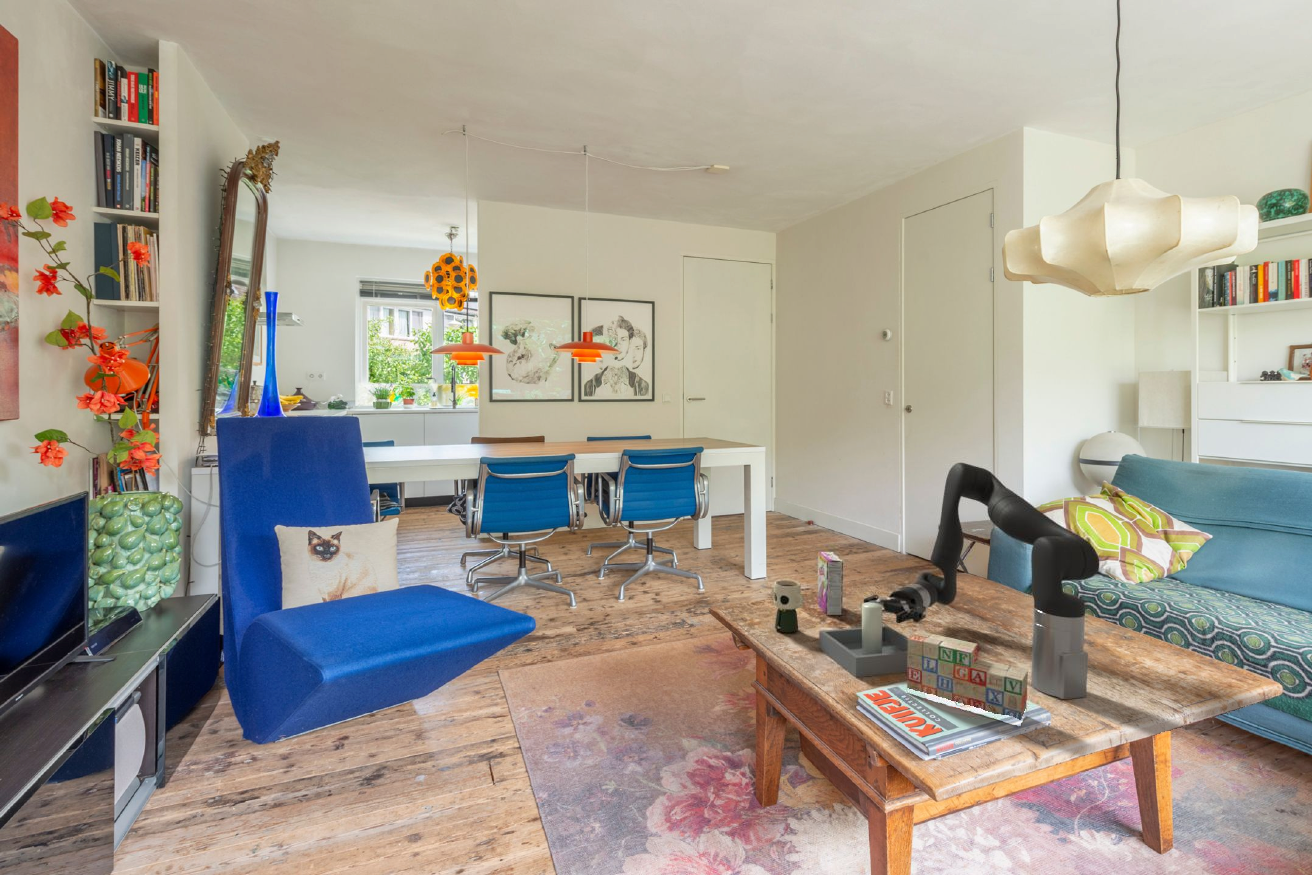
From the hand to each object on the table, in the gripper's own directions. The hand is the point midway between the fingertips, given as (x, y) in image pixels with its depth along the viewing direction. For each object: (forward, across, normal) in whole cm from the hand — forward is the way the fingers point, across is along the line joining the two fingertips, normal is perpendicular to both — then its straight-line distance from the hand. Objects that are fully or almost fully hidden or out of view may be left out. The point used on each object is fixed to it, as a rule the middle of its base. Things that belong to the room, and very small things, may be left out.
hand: (880, 614), depth 151 cm
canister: (+4, 0, +9) cm, 10 cm away
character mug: (+3, -25, +10) cm, 27 cm away
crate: (+4, 0, +10) cm, 11 cm away
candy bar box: (-21, -26, +10) cm, 35 cm away
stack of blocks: (+11, +24, +10) cm, 28 cm away
